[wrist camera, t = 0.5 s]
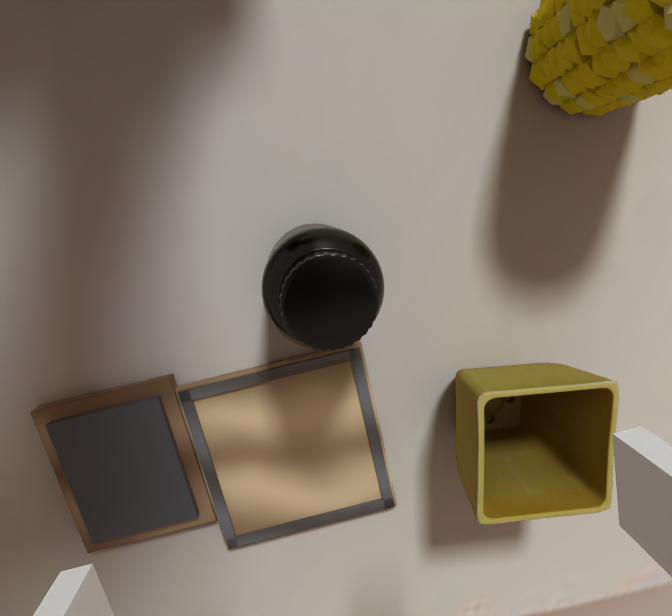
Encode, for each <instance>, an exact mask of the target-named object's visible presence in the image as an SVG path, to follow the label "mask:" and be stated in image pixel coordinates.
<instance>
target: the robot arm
mask: <svg viewBox="0 0 672 616" xmlns="http://www.w3.org/2000/svg"><path fill="white" fill-rule="evenodd" d="M613 446H614V459H615V472H616V485H617V498H618V511H619V524H620V526H621V527H622V528H623V529H624V530H625V531H626V532H627V533H628V534H629V535H630V536H631V537H632V538H633V539H634V540H635V541H636V542H637V543H638V544H639V545H640V546H641V547H642V548H643V549H644V550H645V551H646V552H647V553H648V554H649V555H650V556H651V557H652V558H653V559H654V560H655V561H656V562H657V563H658V564H659V565H660V566H661V567H662V568H663V569H664V570H665V571H666V572H667V573H668V574H669V575H670V576H671V577H672V446H671V445H670V444H668V443H667V442H665V441H664V440H662V439H660V438H659V437H657V436H656V435H654V434H653V433H651V432H650V431H648V430H647V429H645V428H643V427H642V426H640V427H636V428H632V429H628V430H624V431H620V432H616V433H613ZM33 616H114V614H113V612H112V609H111V607H110V605H109V602H108V600H107V597H106V595H105V593H104V590H103V588H102V585H101V583H100V581H99V578H98V576H97V573H96V571H95V568H94V566H93V564H89V565H85V566H81V567H77V568H73V569H69V570H65V571H61V572H60V573H59V575H58V577H57V578H56V580H55V581H54V583H53V585H52V586H51V588H50V589H49V591H48V593H47V594H46V596H45V597H44V599H43V601H42V602H41V604H40V605H39V607H38V609H37V610H36V612H35V613H34V615H33Z"/></svg>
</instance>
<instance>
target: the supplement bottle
mask: <svg viewBox="0 0 672 616" xmlns="http://www.w3.org/2000/svg"><path fill="white" fill-rule="evenodd" d="M262 297H263V303H264V306H265V309H266V312H267V314H268V316H269V318H270V320H271V321H272V323H273V324H274V326H275V327H276V328H277V329H278V330H279V331H280V332H281V333H282V334H283V335H284V336H285V337H287V338H288V339H290V340H291V341H293V342H295V343H297V344H299V345H302V346H305V347H309V348H314V349H321V350H328V349H329V350H336V349H343V348H345V347H346V346H351V345H352V344H353V343H354V342H356V341H359V340H360V339H361V337H362V336H363V335H365V334H367V331H368V329H369V328H370V327H372V324H373V322H374V321H375V319H376V317H377V315H378V313H379V311H380V309H381V305H382V302H383V297H384V279H383V274H382V270H381V267H380V265H379V262H378V260H377V259H376V257H375V255H374V254H373V252H372V251H371V250H370V249H369V247H368V246H367V245H366V244H365V243H363V242H362V241H361V240H360V239H358V238H357V237H355V236H354V235H352V234H350V233H348V232H346V231H343V230H341V229H338V228H335V227H332V226H329V225H324V224H306V225H302V226H299V227H296V228H294V229H292V230H291V231H289V232H287V233H286V234H285V235H284V236H283V237H281V239H280V240H279V241H278V242H277V243H276V245H275V246H274V248H273V249H272V252H271V254H270V256H269V259H268V262H267V264H266V267H265V270H264V274H263V279H262Z"/></svg>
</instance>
